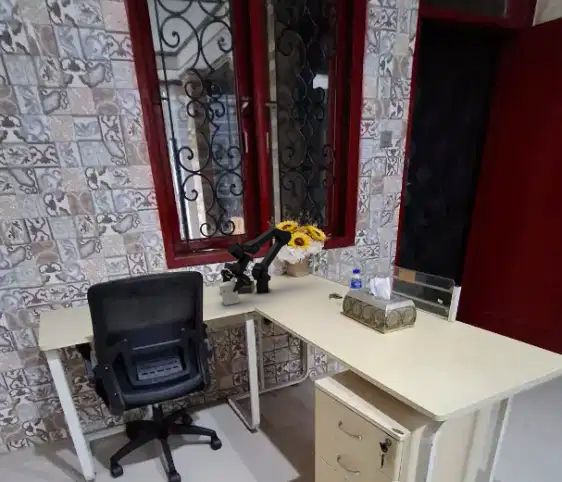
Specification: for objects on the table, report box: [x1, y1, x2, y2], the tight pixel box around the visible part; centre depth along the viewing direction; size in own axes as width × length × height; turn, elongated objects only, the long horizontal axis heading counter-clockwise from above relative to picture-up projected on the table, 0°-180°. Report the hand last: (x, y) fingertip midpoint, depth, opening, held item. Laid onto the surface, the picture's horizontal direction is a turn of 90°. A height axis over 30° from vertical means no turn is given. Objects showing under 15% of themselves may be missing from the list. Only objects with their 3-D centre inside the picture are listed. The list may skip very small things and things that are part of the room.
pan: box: [235, 279, 256, 294], centre depth 236 cm, size 17×13×3 cm
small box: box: [219, 279, 240, 306], centre depth 215 cm, size 8×6×10 cm
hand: (227, 290), depth 214 cm, fingers open, 9 cm apart
